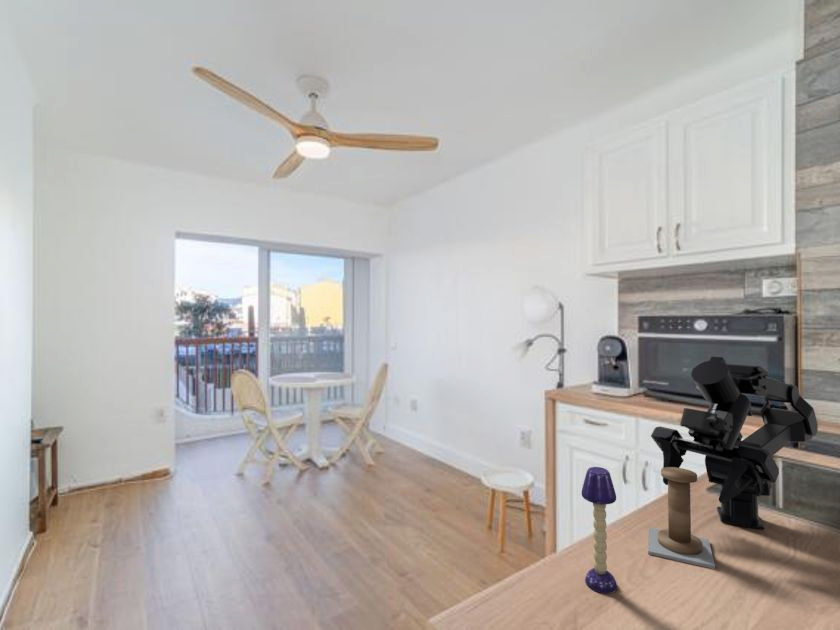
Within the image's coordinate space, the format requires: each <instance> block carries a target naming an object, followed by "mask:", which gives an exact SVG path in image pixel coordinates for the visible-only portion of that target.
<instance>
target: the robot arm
mask: <svg viewBox="0 0 840 630" xmlns="http://www.w3.org/2000/svg"><path fill="white" fill-rule="evenodd" d="M691 378H692V379H693V382H694V383H695V384H696V387H697V389H699V391H700V394H701V395H702V396H703V399H705V400H706V401H707V402H709V403H710V404H709V406H708V409H707V411H705V410H700V409H692V408H687V407H685V408H683V412H682V415H681V420H680V423H679V426H681V427H684V428H687V429H688V432H687V434H689V435H688V436H690V437H692V438H693V440H690V439H685V438H684V437H682V435H681V434H680V431H678V429H673V428H670V427H664V426H657V427H655V428H654V429H653V431H652V432H651V434H650V437H651V438H652V440H653V441H654V442H655V444H656V445H657V447H658V448H659V449H660V450H661V451H662V455H663V457H662V458H663V467H662V468H665V467H676V468H681V466H682V463H683V462H684V459H683V456H685V455H686V454H687V451H688V452H692V453H695V454H700V455H702V456H705V457H704V464H705V469H706V473H707V478H708V482H709V483H711V484H717V485H720V493H719V496H718V502H719V503H720V506H717V507H716V511H717V514H718V516H719V520H720V522H722V523H724V524H725V523H726V524H731V525H736V526H742V527H747V528H753V529H757V530H765V525H764V523H763V521H762V519H761V517H760V516H759V497H762V496H766V497H767V496H769V497H770V496H771V489H772V488H773V485H772V483H776V482H777V479H778V476H779V474H780V470H779V469H780V468H779V467H778V464H777V463H776V462H775V460H774V459H773V456H774V455H776V454H777V453H778V452H779V451H780V450H782V449H783V448H784V447H786V445H788V444H789V443H806V442H807V441H810V440H812V439H813V437H815V436H816V435H817V433H818V427H819V425H818V420H817V416H816V412H815V409H814V407H813V405H811V404H809V402H808V401H806V400H805V399H804V398H803V397H802V396H801V395H800V391H799V387H798V386H797V385H793V384H792V383H786V382H784V381H781V380H779V379H775V378H772V377H769V372H768V370H766V369H765V368H764V367H762V366H761V365H754V364H738V363H727V362H726V360H725V358H724V357H723V356H710V358H709V360H707V361H702V362H701V363H698V364H697V365H696V366H695V367H693V368H692V370H691ZM747 396H751V397H752V396H754V397H761V398H764V399H765V403H764V404H763V406H762V408H761V409H760V415H761V419H762V421H763V424H764V425H762V426H761V427H760V428H758V429H757V430H755V431H753V432H752V433H751V434H749V435H748V436H746V437H745V438H744V437H743V435H742V432H741V430H742V428H743V426H744V423H745V421H746V419H747V417H752V416H753V413H754V412H753V409H752V403H751V401H750V399H749V398H748V397H747ZM770 402H779V403H787V404H790V405H791V407H792V409H794V410H790V409H781V408H775V407H772V408H771V405H770ZM742 438H744V439H742ZM662 482H663V484H664V485H666V486H668V479H666V478H664V477H663V476H662Z"/></svg>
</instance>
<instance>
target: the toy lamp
mask: <svg viewBox="0 0 840 630" xmlns="http://www.w3.org/2000/svg"><path fill="white" fill-rule="evenodd" d="M616 494H617V493H616V490H615V486H614V483H613V480H612V477H611V473H610V472H609V470H608V469H607V468H604V467H601V466H600V467H599V466H592V467H591V466H590V467H589V468H588V469H587V470H586V473H585V476H584V480H583V483H582V487H581V496H582V498H583V499H584V500H585V501H587V502H590V503H592V506H593V511H592V514H593V515H592V516H593V518H594V519H593V521H592V522H593V528H594V529H593V538H594V541H593V549H594V551H593V558H594V562H593V568H591V569H590V570H588V571H587V573H586V574H585V575H586V576H585V577H584V578H585V579H584V582H585V584H586V585H587V586H588V588H590V589H592V590H593V591H595V592H596V593H597V592H598V593H601V594H611V593H612V594H613V593H614V592H616V591H617V589H618V585H617V581H616V580H617V579H615V576H614V575H613V574H612V573H611V572H610V571H609V570H607V569H608V565H607V559H608V556H607V552H606V551H607V548H608V544H607V539H608V538H607V537H608V533H607V531H606V529H607V521H606V520H607V511H606V507H607V505H611V504H614V503H615V502H616V501H617V495H616Z"/></svg>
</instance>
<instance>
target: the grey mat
mask: <svg viewBox="0 0 840 630" xmlns="http://www.w3.org/2000/svg"><path fill="white" fill-rule="evenodd" d="M661 530H662V529H659V528H656V527H655V528H654V527H648V549H647V554H648V555H651V556H656V557H659V558H665V559H669V560H674V561H677V562H681V563H687V564H689V565H695V566H698V567H699V566H701V567H704V568H709V569H713V570H715V569H716V565H715V561H714V556H713V551H712V549H711V548H712V547H711V544H710V540H709V538H705V537H700V536H699V537H698V536H696V537H697V538H699V539H700V540H701V541H702V544H703V551H702V552H701V553H700V554H696V555H687V554H681V553H677V552H674V551H671V550H669V549H666V548H665V547H663V546H662V545H661V544H660V543H659V542H658V532H659V531H661Z"/></svg>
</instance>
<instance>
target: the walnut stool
mask: <svg viewBox="0 0 840 630" xmlns="http://www.w3.org/2000/svg"><path fill="white" fill-rule="evenodd" d="M660 475H661V477H662V478H663V477H664V478H666V479H668V485H667V507H668V508H667V509H668V512H667V513H668V518H667V520H668V528H666V529H660V530H661V531H659V532H658V542H659V543H660V544H661V545H662V546H663V547H665V548H666V549H669V550H671V551H674V552H677V553H681V554H687V555H696V554H700V553H701V552H702V551H703V544H702V541H701V540H700V539H699V538H697V537H698V536H696V535H694V534H692V528H691V527H692V526H691V524H692V523H691V519H692V517H691V515H692V514H691V483H696V482H698V473H696V472H694V471H692V470H690V469H685V468H682V467H679V468H676V467H665V468H663V467H661V469H660Z"/></svg>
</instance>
